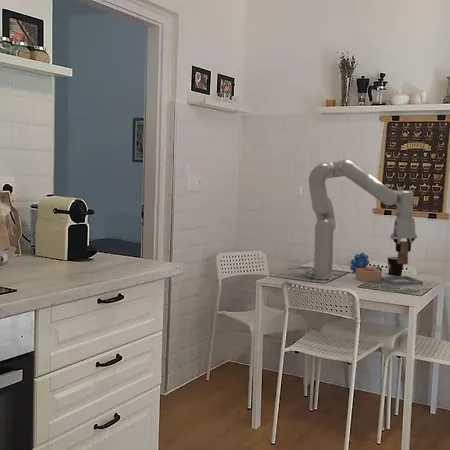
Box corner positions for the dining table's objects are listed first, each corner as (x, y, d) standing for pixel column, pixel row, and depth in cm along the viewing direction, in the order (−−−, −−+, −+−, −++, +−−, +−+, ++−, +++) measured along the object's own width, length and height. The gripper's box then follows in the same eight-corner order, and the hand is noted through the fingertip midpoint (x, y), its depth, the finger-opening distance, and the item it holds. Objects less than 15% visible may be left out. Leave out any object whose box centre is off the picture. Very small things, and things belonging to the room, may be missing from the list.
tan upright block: (400, 264, 310) (401, 242, 309) (395, 262, 315) (396, 241, 314) (409, 264, 312) (410, 242, 310) (404, 262, 316) (405, 241, 315)
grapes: (363, 272, 343) (365, 251, 342) (371, 274, 337) (372, 253, 336) (345, 273, 339) (346, 251, 338) (352, 275, 333) (353, 253, 332)
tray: (393, 287, 306) (393, 282, 306) (379, 281, 319) (379, 276, 319) (422, 286, 310) (422, 281, 310) (407, 280, 323) (407, 275, 323)
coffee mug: (403, 278, 329) (404, 259, 328) (387, 277, 331) (388, 258, 330) (402, 274, 341) (403, 256, 340) (385, 273, 342) (386, 255, 341)
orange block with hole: (363, 283, 313) (364, 271, 313) (355, 279, 322) (356, 268, 322) (380, 282, 316) (381, 271, 315) (372, 279, 325) (372, 267, 324)
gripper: (393, 216, 305) (391, 252, 307) (424, 215, 309) (422, 252, 311) (385, 214, 312) (384, 250, 314) (415, 214, 317) (414, 249, 319)
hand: (403, 251), depth 313 cm, fingers closed on tan upright block, 4 cm apart
